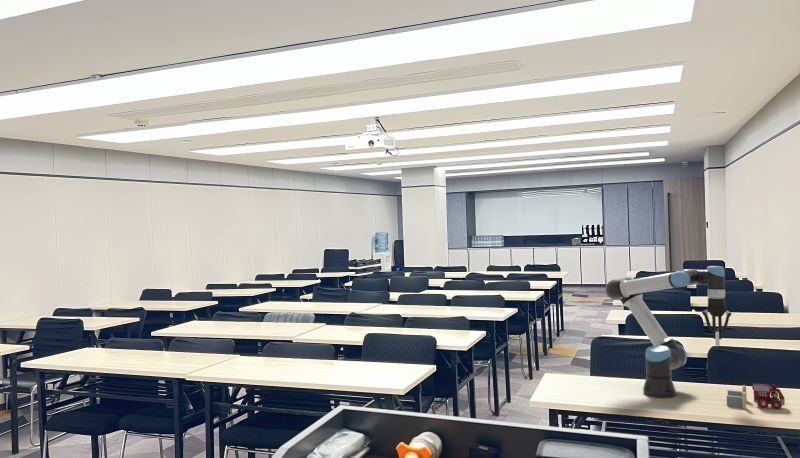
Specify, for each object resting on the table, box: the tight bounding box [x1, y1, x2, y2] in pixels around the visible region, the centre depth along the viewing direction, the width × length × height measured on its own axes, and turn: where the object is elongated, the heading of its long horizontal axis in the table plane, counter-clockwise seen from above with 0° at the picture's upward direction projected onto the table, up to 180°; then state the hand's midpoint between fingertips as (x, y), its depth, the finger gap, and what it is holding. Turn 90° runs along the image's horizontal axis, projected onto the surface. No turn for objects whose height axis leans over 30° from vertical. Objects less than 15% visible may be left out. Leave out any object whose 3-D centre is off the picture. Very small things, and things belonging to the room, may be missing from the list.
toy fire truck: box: [751, 383, 786, 410], centre depth 261 cm, size 7×12×10 cm, turn 67°
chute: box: [726, 385, 748, 410], centre depth 267 cm, size 8×15×7 cm, turn 148°
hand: (717, 345), depth 277 cm, fingers closed
